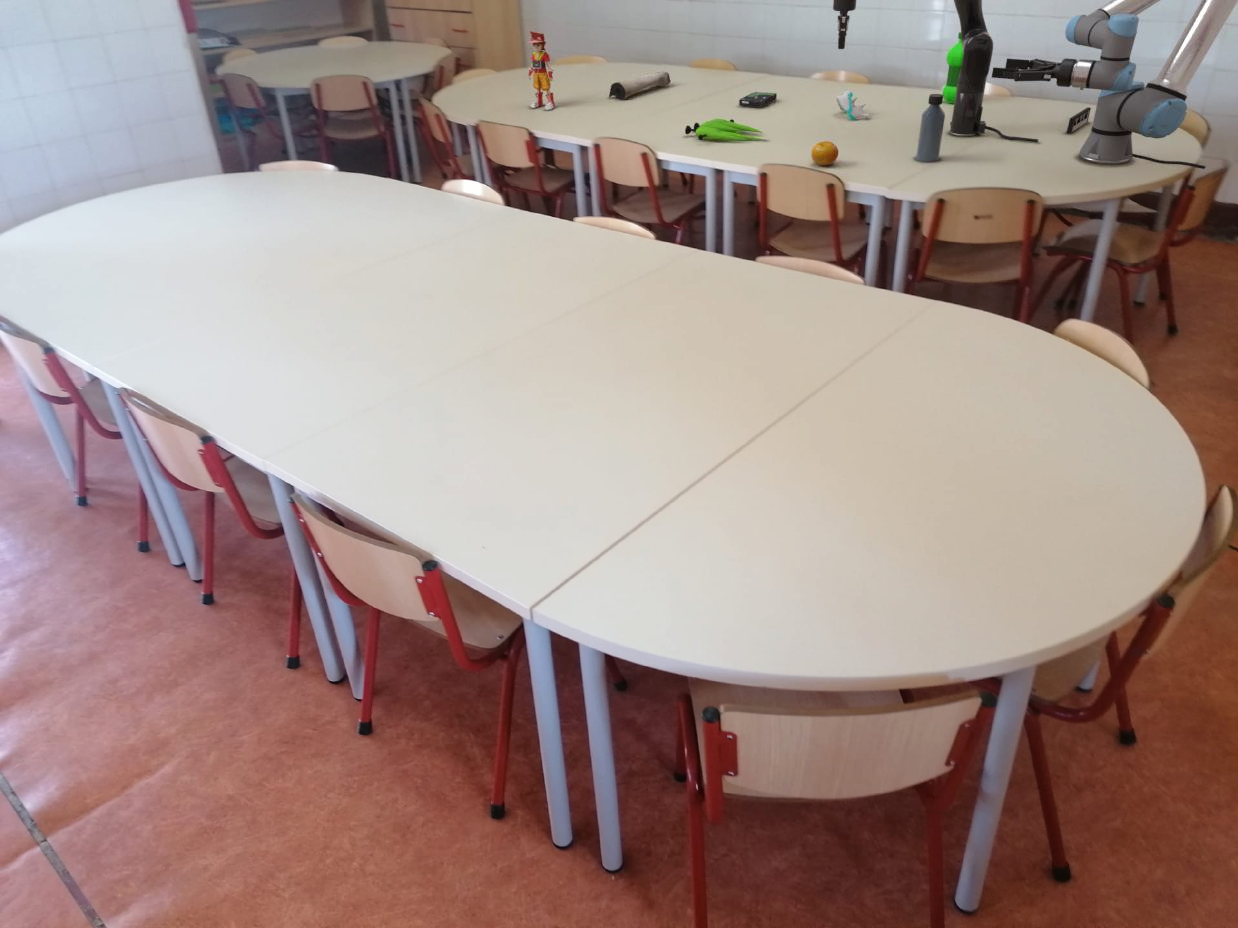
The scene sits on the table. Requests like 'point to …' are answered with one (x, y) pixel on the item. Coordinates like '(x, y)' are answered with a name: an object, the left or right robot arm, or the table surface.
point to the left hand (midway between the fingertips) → (841, 46)
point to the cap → (935, 99)
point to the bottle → (930, 134)
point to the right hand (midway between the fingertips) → (999, 68)
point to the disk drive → (757, 99)
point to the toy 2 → (721, 130)
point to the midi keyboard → (1078, 120)
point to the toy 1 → (541, 71)
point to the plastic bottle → (953, 70)
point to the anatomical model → (850, 105)
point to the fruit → (824, 153)
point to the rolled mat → (638, 84)
